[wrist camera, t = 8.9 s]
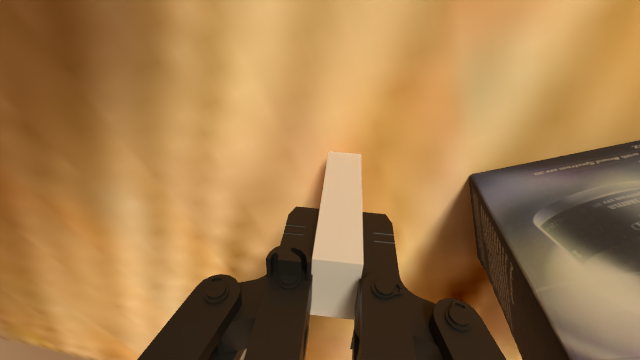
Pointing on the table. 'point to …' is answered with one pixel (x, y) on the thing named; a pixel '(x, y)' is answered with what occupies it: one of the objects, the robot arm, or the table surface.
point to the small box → (565, 252)
